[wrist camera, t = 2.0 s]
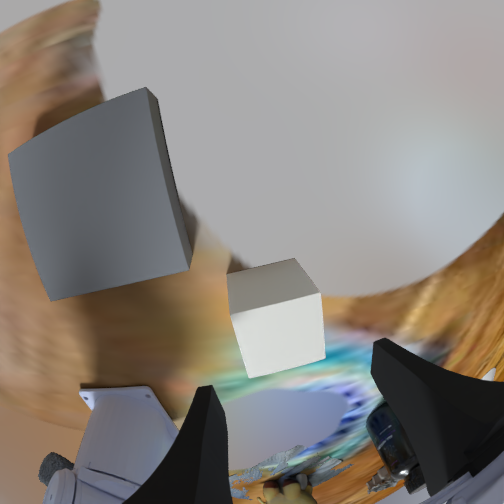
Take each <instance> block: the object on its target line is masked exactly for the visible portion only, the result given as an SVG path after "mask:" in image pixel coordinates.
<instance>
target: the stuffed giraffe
mask: <svg viewBox="0 0 504 504" xmlns="http://www.w3.org/2000/svg"><path fill="white" fill-rule="evenodd" d="M305 449H307V447H305V446H303V445H297V446H296V447H294V448H292V449H290V450H288V451H282V452H279V453H277V454H275V455H273V456H271V457H270V458H268V459H266V460H264V461H263V462H261V463H259V464H258V465H256V466H254V467H252V468H253V471H251V469H252V468H249V472H248V473H247V471H248V469H247V470H245V473H244V474H245V475H244V474H243V476H242V475H241V476H236V475H237V474H235V475H233V476H230V477H229V483H230V487H232V486H233V485H234V484H232V483H233V481H235V480H240V479H239V478H242V479H248V477H253V479H250V480H251V481H254V480H255V479H261V478H259V477H262V473H260V471H259V470H257V469H259V468H256V469H255V467H262V466H269V465H275V464H279V463H280V464H279V465H278V466H277V468H276V469H275V470H274V471H273V473H272V474H270V475H274V474H275V473H277V472H279V471H281V470H283V469H285V468H286V467H287V465H288V463H286V462H287V461H289V460H290V459H292V458H294V457H295V456H297V455H298V454H299V453H301V452H302V451H304V450H305ZM317 454H318V453H317ZM318 456H319V455H318ZM319 457H320V458H321V456H319ZM320 458H318V457H315V456H314V457H313V458H310V459H307V461H304V462H303V463H301V465H299V466H298V465H297V466H296V468H295V467H292V468H291V467H290V468H287V469H285V470H283V471H282V472H281V473H285V475H284V476H282V477H281V478H280V479H279V480H272V481H266V482H265V484H264V486H263V494H264V497H265V499H266V502H263V501H262V500H261V498H260V497H257V500H259V501H260V502H261V503H262V504H317V501H316V500H315V499H314V498H313V496H312V490H313V488H312V487H314V486H317V485H319V484H321V483H322V482H324V481H327V480H329V479H330V478H332V477H334V476H336V475H338V474H339V473H340V472H342V471H344V470H345V469H347V468H349V467H350V466H352V465H354V464H352V465H351V464H349V465H347V467H346V466H345V467H344V468H342V469H339V470H338V469H337V470H336V471H335V469H334V470H331V469H332V468H333V467H335V466H336V465H338V464H340V463H341V462H343V461H341V460H339V459H331V460H330V461H328V462H326V463H324V462H325V461H326V460H329V459H330V458H332V457H329V456H328V457H327V458H326V457H325V459H323V460H321V461H320V460H319V459H320ZM318 460H319V462H318ZM317 462H318V463H317ZM313 463H317V464H315V465H313ZM319 464H321V467H320V468H319V469H318V468H317V469H316V472H314V473H312V474H310V475H308V476H307V475H306V474H303V473H300V472H301V471H302V470H304V469H305V468H307V467H309V466H310V465H313V466H311V467H314V466H317V465H318V466H320V465H319ZM311 467H310V468H311ZM263 468H264V467H263ZM273 468H274V467H272V468H268V469H269V470H268V471H271V470H273ZM294 468H295V469H294ZM261 469H262V468H261ZM330 470H331V471H330ZM257 471H258V472H257ZM242 472H243V471H242ZM262 472H263V471H262ZM271 472H272V471H271ZM296 473H297V474H296ZM253 474H254V475H253ZM294 474H295V475H294ZM292 475H293V476H292ZM230 479H231V482H230ZM242 481H244V480H242ZM239 482H241V481H239ZM239 482H238V483H239ZM245 482H248V483H249V481H245ZM235 484H237V482H236V483H235ZM239 484H240V483H239ZM246 484H247V483H246ZM243 488H244V487H243ZM230 490H231V493H232V494H231V496H233V497H236V498H243V499H248V498H249V496H248V497H246V496H245V495H246V494H244V493H247V492H248V491H249V490H245V488H244V489H243V490H245V491H244V493H243V492H242V491H239V490H235V489H232V488H230ZM233 492H236V493H233ZM249 500H252V499H249Z"/></svg>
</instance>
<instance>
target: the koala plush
mask: <svg viewBox="0 0 504 504" xmlns="http://www.w3.org/2000/svg"><path fill="white" fill-rule="evenodd" d="M65 468H66V469H69V470H70V471H71V470H73V468H74V464H73V463H71V462H70V461H69V460H67V459H66V458H64V457H62V456H61V455H58V454H57V453H54V452H51V453H50V454H48V455H47V456H46V458H44V460H43V462H42V464H41V467H40V470H39V475H38V477H39V480H40V482H43V483H44V484H45V485H46V486H47V487H48V484H49V482H50V480H51V478H52V476H53V475H54V473H55V472H56V471H58V470H63V469H65Z"/></svg>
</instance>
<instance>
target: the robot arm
mask: <svg viewBox="0 0 504 504" xmlns="http://www.w3.org/2000/svg"><path fill="white" fill-rule="evenodd" d="M371 375H372V377H373V379H374V381H375V383H376V385H377V387H378V389H379V391H380V392H381V394H382V395H383V397H384V398H385V400H386V402H387V403H388V404H389V406H390V407H391V409H392V410H393V412H394V413H395V415H396V416H397V418H398V419H399V421H400V422H401V424H402V426H403V428H404V429H405V431H406V433H407V436H408V438H409V440H410V442H411V444H412V446H413V449H414V451H415V454H416V456H417V459H418V461H419V464H420V467H421V470H422V473H423V476H424V479H425V483H426V487H427V491H428V493H429V495H430V496H431V497H430V498H429V499H427V500H425V501H424V502H422V503H420V504H443V503H445V502H446V501H447V503H446V504H502V503H503V502H504V382H497V381H488V380H482V379H477V378H472V377H468V376H464V375H461V374H458V373H455V372H452V371H449V370H446V369H444V368H441V367H439V366H437V365H435V364H433V363H430V362H428V361H426V360H424V359H422V358H420V357H419V356H417V355H415V354H413V353H411V352H409V351H408V350H406V349H404V348H402V347H401V346H399V345H397V344H396V343H394V342H392V341H390V340H389V339H387V338H382V339H380V340H377V341H375V342H374V343H373V354H372V364H371ZM79 394H80V396H81V397H82V398H83V400H84V401H85V402H86V404H87V405H88V406H89V407H90V409H91V410H92V413H91V416H90V418H89V421H88V424H87V427H86V430H85V433H84V436H83V439H82V442H81V445H80V448H79V451H78V455H77V458H76V461H75V464H74V468H73V470H71V471H70V470H69V469H66V468H65V469H63V470H58V471H56V472H55V473H54V475H53V476H52V478H51V480H50V482H49V484H48V487H47V490H46V492H45V496H44V499H43V504H233V501H232V496H231V490H230V483H229V473H228V431H227V424H226V417H225V412H224V410H223V407H222V405H221V403H220V401H219V399H218V397H217V394H216V392H215V390H214V388H213V386H212V385H209V386H202V387H198V388H197V390H196V393H195V396H194V399H193V401H192V404H191V406H190V409H189V411H188V414H187V416H186V418H185V420H184V423H183V425H182V427H181V429H180V431H179V430H178V428H177V427H176V425H175V424H174V423H173V421H172V420H171V418H170V417H169V415H168V414H167V413H166V411H165V410H164V408H163V407H162V405H161V404H160V402H159V400H158V399H157V397H156V396H155V394H154V393H153V391H152V389H151V388H150V387H148V386H137V387H123V388H101V389H80V391H79ZM147 394H148V395H147Z"/></svg>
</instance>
